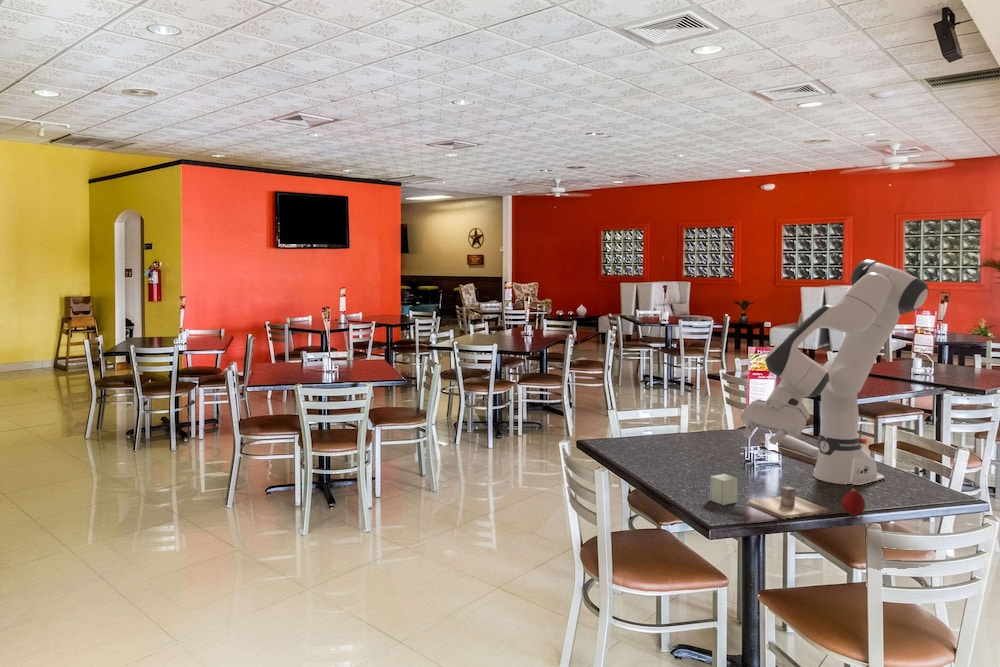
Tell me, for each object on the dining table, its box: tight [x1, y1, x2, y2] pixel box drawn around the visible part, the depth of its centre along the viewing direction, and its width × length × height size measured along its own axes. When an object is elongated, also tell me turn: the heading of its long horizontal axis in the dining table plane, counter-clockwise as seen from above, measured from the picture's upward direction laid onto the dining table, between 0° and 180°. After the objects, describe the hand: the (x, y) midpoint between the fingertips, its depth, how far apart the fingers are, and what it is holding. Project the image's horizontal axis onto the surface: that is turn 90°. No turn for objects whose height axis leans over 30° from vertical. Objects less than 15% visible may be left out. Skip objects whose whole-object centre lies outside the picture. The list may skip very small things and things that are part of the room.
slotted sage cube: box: [709, 473, 739, 506], centre depth 219 cm, size 5×5×7 cm
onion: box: [841, 488, 866, 518], centre depth 206 cm, size 6×6×8 cm
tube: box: [775, 432, 819, 458], centre depth 275 cm, size 5×5×25 cm
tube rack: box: [759, 440, 817, 465], centre depth 275 cm, size 11×28×2 cm, turn 22°
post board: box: [747, 486, 829, 520], centre depth 213 cm, size 16×14×6 cm
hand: (758, 439), depth 223 cm, fingers open, 8 cm apart
